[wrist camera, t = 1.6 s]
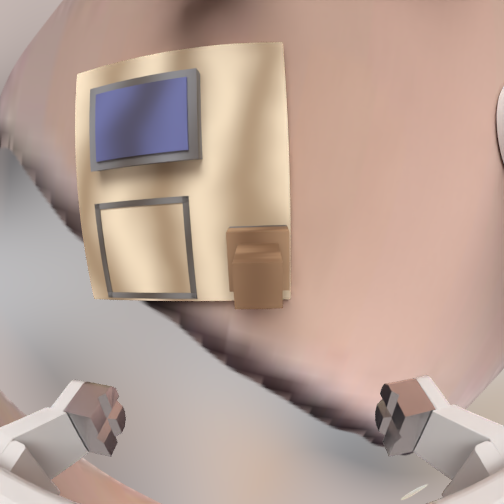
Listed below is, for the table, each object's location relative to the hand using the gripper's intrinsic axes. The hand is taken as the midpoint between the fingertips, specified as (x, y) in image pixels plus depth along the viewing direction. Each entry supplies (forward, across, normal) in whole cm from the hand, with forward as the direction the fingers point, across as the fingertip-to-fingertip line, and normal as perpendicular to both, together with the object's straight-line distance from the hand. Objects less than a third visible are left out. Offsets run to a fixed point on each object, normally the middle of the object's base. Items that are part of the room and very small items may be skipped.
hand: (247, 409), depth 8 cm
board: (+18, +6, -7) cm, 20 cm away
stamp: (+17, 0, 0) cm, 17 cm away
